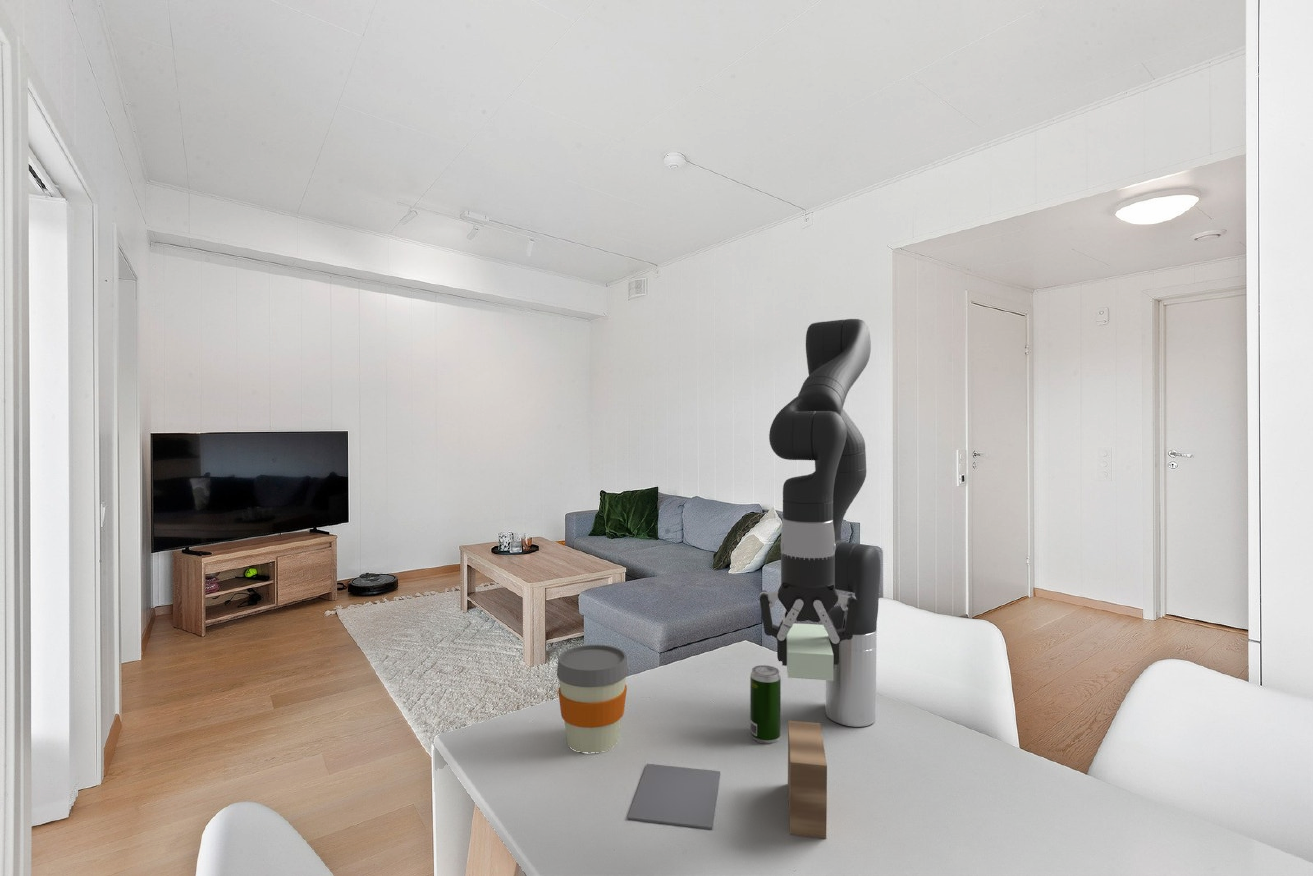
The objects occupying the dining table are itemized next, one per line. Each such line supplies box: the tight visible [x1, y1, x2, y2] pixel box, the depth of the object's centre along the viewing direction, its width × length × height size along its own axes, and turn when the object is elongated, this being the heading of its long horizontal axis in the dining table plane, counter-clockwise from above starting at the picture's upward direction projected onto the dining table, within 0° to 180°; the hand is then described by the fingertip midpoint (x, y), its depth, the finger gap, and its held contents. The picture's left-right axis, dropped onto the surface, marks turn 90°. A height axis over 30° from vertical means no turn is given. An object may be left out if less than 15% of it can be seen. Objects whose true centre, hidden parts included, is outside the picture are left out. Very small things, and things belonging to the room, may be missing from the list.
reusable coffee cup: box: [556, 644, 629, 753], centre depth 109 cm, size 13×13×15 cm
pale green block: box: [786, 622, 833, 681], centre depth 89 cm, size 12×6×4 cm, turn 170°
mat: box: [627, 763, 721, 830], centre depth 94 cm, size 14×12×1 cm
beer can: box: [749, 664, 782, 745], centre depth 111 cm, size 5×5×12 cm
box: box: [787, 720, 828, 839], centre depth 90 cm, size 12×5×10 cm, turn 170°
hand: (807, 664), depth 90 cm, fingers closed on pale green block, 6 cm apart
